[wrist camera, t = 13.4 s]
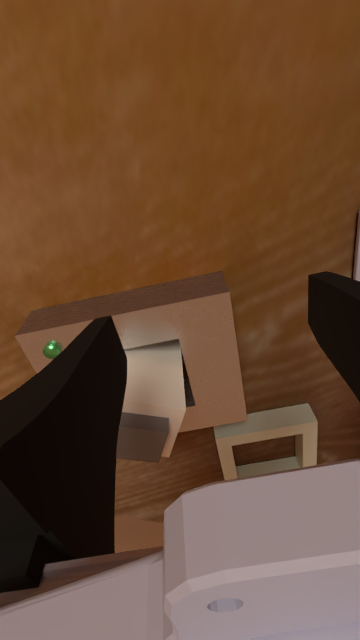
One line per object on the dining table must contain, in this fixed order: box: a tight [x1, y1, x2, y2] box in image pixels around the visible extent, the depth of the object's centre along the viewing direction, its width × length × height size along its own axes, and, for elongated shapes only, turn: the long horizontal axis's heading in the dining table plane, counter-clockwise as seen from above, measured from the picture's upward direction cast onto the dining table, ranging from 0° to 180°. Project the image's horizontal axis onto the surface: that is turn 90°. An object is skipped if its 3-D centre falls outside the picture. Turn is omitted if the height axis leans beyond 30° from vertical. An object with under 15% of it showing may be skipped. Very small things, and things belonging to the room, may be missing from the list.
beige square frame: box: [213, 403, 318, 480], centre depth 29 cm, size 8×8×2 cm
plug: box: [116, 339, 186, 463], centre depth 21 cm, size 4×4×8 cm
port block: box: [15, 271, 247, 433], centre depth 23 cm, size 13×11×3 cm
